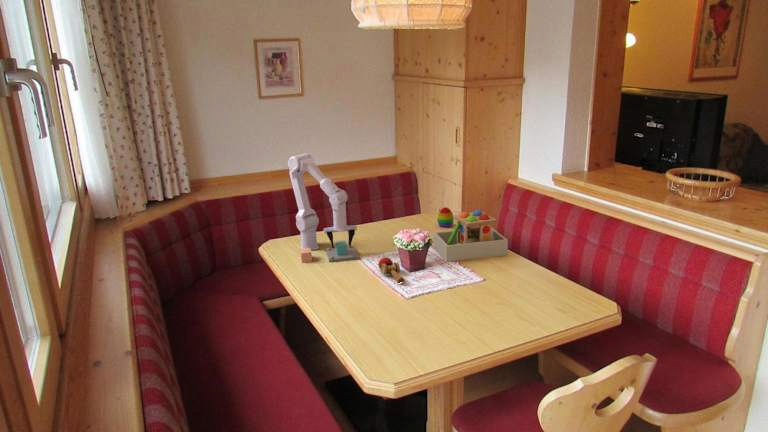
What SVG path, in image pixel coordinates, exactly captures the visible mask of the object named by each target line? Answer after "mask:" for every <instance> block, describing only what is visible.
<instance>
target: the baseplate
mask: <svg viewBox="0 0 768 432" xmlns="http://www.w3.org/2000/svg"><path fill="white" fill-rule="evenodd" d="M325 253H326V256H327V258H328V259H327V260H328V262H329V263H334V262H335V263H336V262H345V261H353V260H359V259H360V257H359V255H358V253H357V250H356V248H355V246H354V245H351V247H349V245H347V254H348V255H337V252H336V247H334V248H332V247H327V248H325Z"/></svg>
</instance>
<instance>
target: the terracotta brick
mask: <svg viewBox="0 0 768 432" xmlns="http://www.w3.org/2000/svg"><path fill="white" fill-rule="evenodd" d="M299 250H300V260H301V263H302V264H303V263H312V262H313V258H312V257H313V256H312V250H311V249H310V248H302V249H301V248H300V249H299Z"/></svg>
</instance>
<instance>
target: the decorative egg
mask: <svg viewBox="0 0 768 432" xmlns="http://www.w3.org/2000/svg"><path fill="white" fill-rule="evenodd" d="M454 220H455V219H454V214H453V212H452V211H451V209H450V208H449V207H442V208H441V209H440V210H439V212H438V213H437V224H438V225H439V227H441V228H444V229H448V228H451V226H453V223H454Z"/></svg>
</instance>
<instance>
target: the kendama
mask: <svg viewBox="0 0 768 432" xmlns="http://www.w3.org/2000/svg"><path fill="white" fill-rule="evenodd" d="M378 268H379V270H380V273H381V274H382V275H384V276H385V275H387V273H391V275H392V277H393V278H394V280H395V282H397V284H398V283H400V282H404V283H405V278H404V277H402V276H401V274H400V272H401V266H400V264H399V262H393V260H392V259H391V258H390V257H385V256H384V257H382V258H381V259H380V260H379V261H378ZM398 273H399V274H398Z"/></svg>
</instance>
